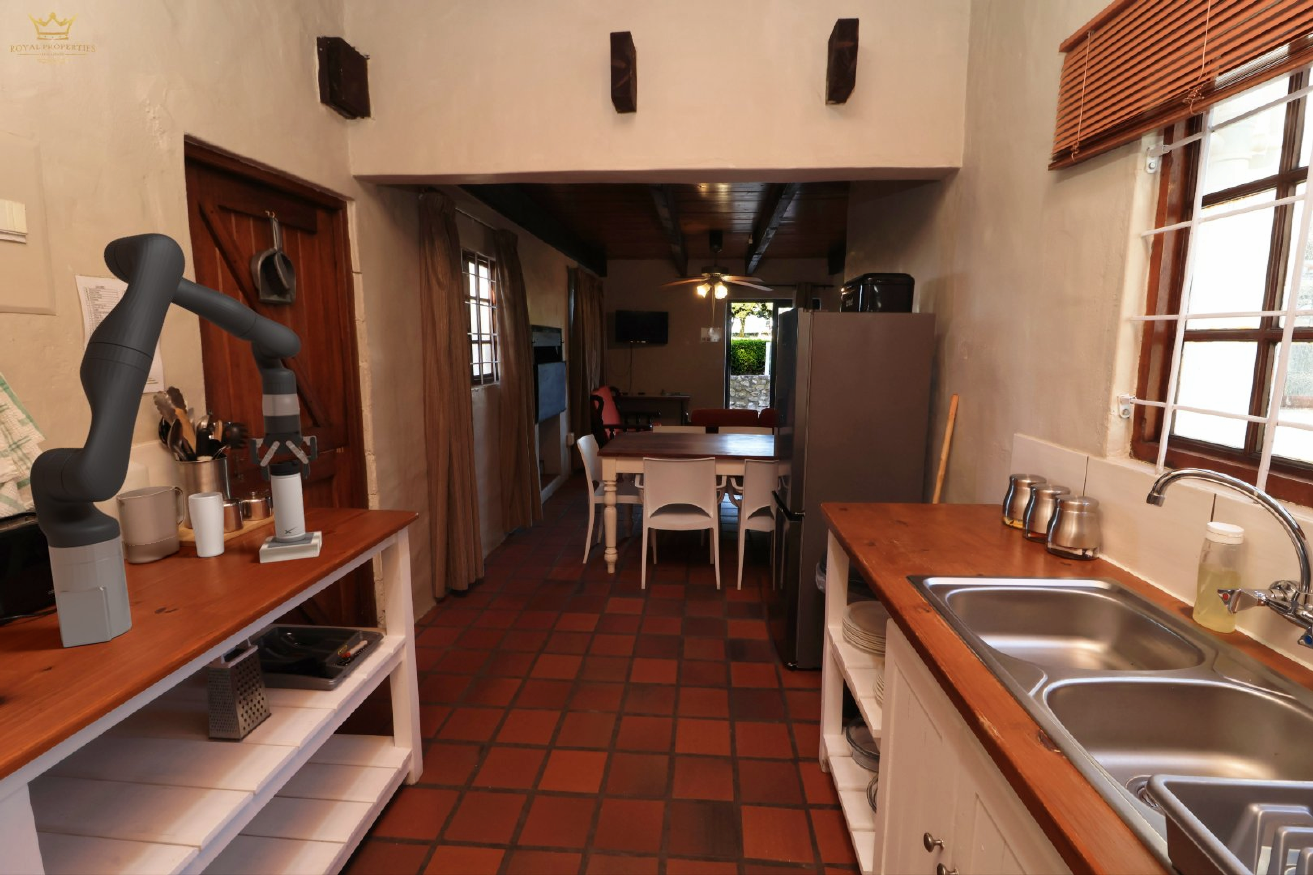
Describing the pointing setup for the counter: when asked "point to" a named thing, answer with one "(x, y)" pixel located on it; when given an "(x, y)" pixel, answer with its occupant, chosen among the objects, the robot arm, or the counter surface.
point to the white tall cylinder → (207, 522)
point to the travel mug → (287, 501)
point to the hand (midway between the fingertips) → (286, 479)
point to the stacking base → (291, 548)
